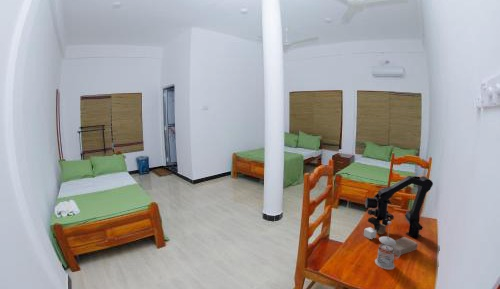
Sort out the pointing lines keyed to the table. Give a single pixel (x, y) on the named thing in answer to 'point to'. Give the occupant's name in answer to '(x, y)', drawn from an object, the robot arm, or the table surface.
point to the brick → (404, 246)
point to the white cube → (370, 233)
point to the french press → (386, 246)
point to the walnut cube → (381, 229)
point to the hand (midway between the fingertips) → (379, 230)
